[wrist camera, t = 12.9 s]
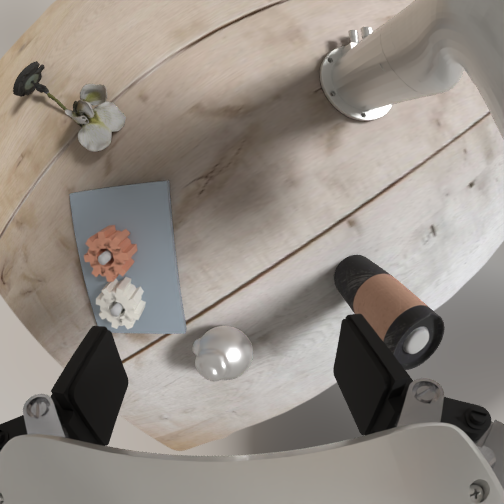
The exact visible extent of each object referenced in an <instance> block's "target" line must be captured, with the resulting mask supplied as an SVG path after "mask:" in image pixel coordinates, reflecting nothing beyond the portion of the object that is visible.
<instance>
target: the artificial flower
mask: <svg viewBox="0 0 504 504" xmlns="http://www.w3.org/2000/svg"><path fill="white" fill-rule="evenodd" d="M39 65H40V64H39V63H38V62H37V61H36V62H34V63H31V64H30V65H28V66H27V67H26V68H25V69H24V70H23V71H22V72H21V73H20V74H19V76H18V77H17V79H16V81H15V84H14V88H13V89H14V90H13V92H14V93H13V94H15V95H18V96H25V95H29V94H30V93H31V92H32V91H34V90H35V88H36V90H37V91H39V92H41V93H42V92H44V93H46V94H47V95H48V97H49V98H51V99H52V100H54V101H56V102H57V104H58V105H59V106H60V107H61V108H63V110H65V113H66V114H67V115H68V116H70V117H71V118H72V119H73V120H74V121H75V122H77V124H78V125H80V126H81V127H82V128H81V130H79V133H78V139H79V142H80V144H81V145H83V147H85V148H86V149H88V150H90V151H101V150H103V149H104V148H106V147H107V146H109V145H110V143H111V137H112V134H111V133H112V132H114V131H119V130H120V129H121V128H122V126H123V125H125V124H124V123H125V118H126V117H125V116H124V113H122V112H121V111H120V110H119V109H118V107H116V105H115V104H114V103H112V102H107V101H106V99H107V90H106V87H105V86H104V85H95V84H86V85H84V86H83V88H82V90H81V92H80V99H81V100H79V101H78V102H77V101H75V102H74V104H73V111H71V110H68V109H66V108H65V106H64V105H63V104H62V103H60V102H59V101H58V100H57V99H56V98H55V97H54V96H53V95H51V94H50V93H49V91H48V89H47V88H46V86H44V85H42V84H39V83H38V82H39V80H40V79H41V72H42V70H43V69H44V65H41V66H40V67H39ZM38 67H39V68H38ZM105 101H106V102H105ZM99 104H100V105H99ZM91 105H99V106H97V107H95V108H94V109H92V106H91ZM123 127H124V126H123Z"/></svg>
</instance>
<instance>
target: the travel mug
mask: <svg viewBox="0 0 504 504" xmlns="http://www.w3.org/2000/svg"><path fill="white" fill-rule="evenodd" d="M334 280H335V285H336V287H337V289H338V290H339V292H340V293H341V295H342V296H343V298H344V299H345V300H346V302H347V303H348V305H349V306H350V308H351V309H352V310H353V312H354V313H355V314H362V315H363V316H364V318H365V319H366V320H367V321H368V323H369V324H370V325H371V327H372V328H373V329H374V330H375V332H376V333H377V334H378V336H379V337H380V338H381V339H382V341H383V342H384V343H385V344H386V345H387V347H388V348H389V349H390V351H391V352H392V353H393V355H394V356H395V357H396V359H397V360H398V361H399V363H400V364H401V365H402V367H403V368H404V369H405V370H409V369H412V368H415V367H417V366H419V365H420V364H422V363H423V362H425V361H426V360H427V359H428V358H429V357H430V356H431V355H432V354H433V353H434V352H435V350H436V349H437V348H438V346H439V344H440V342H441V340H442V337H443V334H444V322H443V320H442V318H441V317H440V316H438V315H437V314H436V313H435V312H434V311H433V310H432V309H430V308H429V307H428V306H427V305H426V304H425V303H424V302H422V301H421V300H420V299H419V298H418V297H417V296H416V295H414V294H413V293H412V292H411V291H410V290H409V289H407V288H406V287H405V286H404V285H403V284H401V283H400V282H399V281H398V280H397V279H395V278H394V277H393V276H392V275H390V274H389V273H387V272H386V271H385V270H383V269H382V268H380V267H379V266H378V265H376V264H375V263H373V262H372V261H370V260H369V259H367V258H366V257H364V256H361V255H352V256H349V257H347V258H346V259H344V260H343V261H342V262H341V263H340V264H339V266H338V267H337V269H336V272H335V276H334Z"/></svg>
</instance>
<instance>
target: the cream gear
mask: <svg viewBox="0 0 504 504" xmlns="http://www.w3.org/2000/svg"><path fill="white" fill-rule="evenodd" d="M101 291H102V292H101V293H100V294H99V296H98V297H97V298H96V304H97V305H99V306H100V310H101V312H100V313H99V316H100V317H101V319H102V320H103V319H105V318H106V319H107V320H108V321H109V322H112V325H111V327H113V328H115V329H117V328H118V327H119V326H123V325H125V327H126V328H127V329H130V328H132V327H133V325H134V323H135V321H136V320H139V318H140V316H141V314H142V312H143V310H144V308H145V304H146V302H145V301H142V300H141V298H142V294H143V292H144V291H143V289H142V288H141V286H140V287H138V288H136V287H135V285H133V284H131V278H128V277H125V278H124V280H123V281H122V280H121V281H119V282H118V280H117V279H115V280H114V281H113V282H108V283H107V285H106V286H105V287H104V288H103V289H102V290H101ZM116 302H118V303H121V304H122V306H123V307H124V308H123V309H122V311H121V312H120V314H119V316H117V317H114V316H113V315H112V314H111V312H110V311H111V309H112V307H113V306H114V304H115V303H116Z"/></svg>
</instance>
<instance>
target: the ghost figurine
mask: <svg viewBox="0 0 504 504" xmlns="http://www.w3.org/2000/svg"><path fill="white" fill-rule="evenodd" d="M192 350H193V353H194V354H195V355H196V356H197V357H196V360H195V366H196V369H197V371H198V372H199V373H200V374H201V375H202V376H203V377H204V378H205V379H207V380H210V381H219V380H232V379H235V378H238V377H240V376H241V375H243V374H244V373H245V372H246V371H247V370H248V368H249V367H250V365H251V363H252V360H253V347H252V344H251V342H250V340H249V338H248V337H247V336H246V335H245V334H244V333H243V332H242V331H241V330H239V329H237V328H235V327H232V326H218V327H214V328H212V329H210V330H209V331H207V332H206V333H205V334H204V335H203V336H202V337H201V338H200V339H197V340H195V341H194V343H193V348H192Z"/></svg>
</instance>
